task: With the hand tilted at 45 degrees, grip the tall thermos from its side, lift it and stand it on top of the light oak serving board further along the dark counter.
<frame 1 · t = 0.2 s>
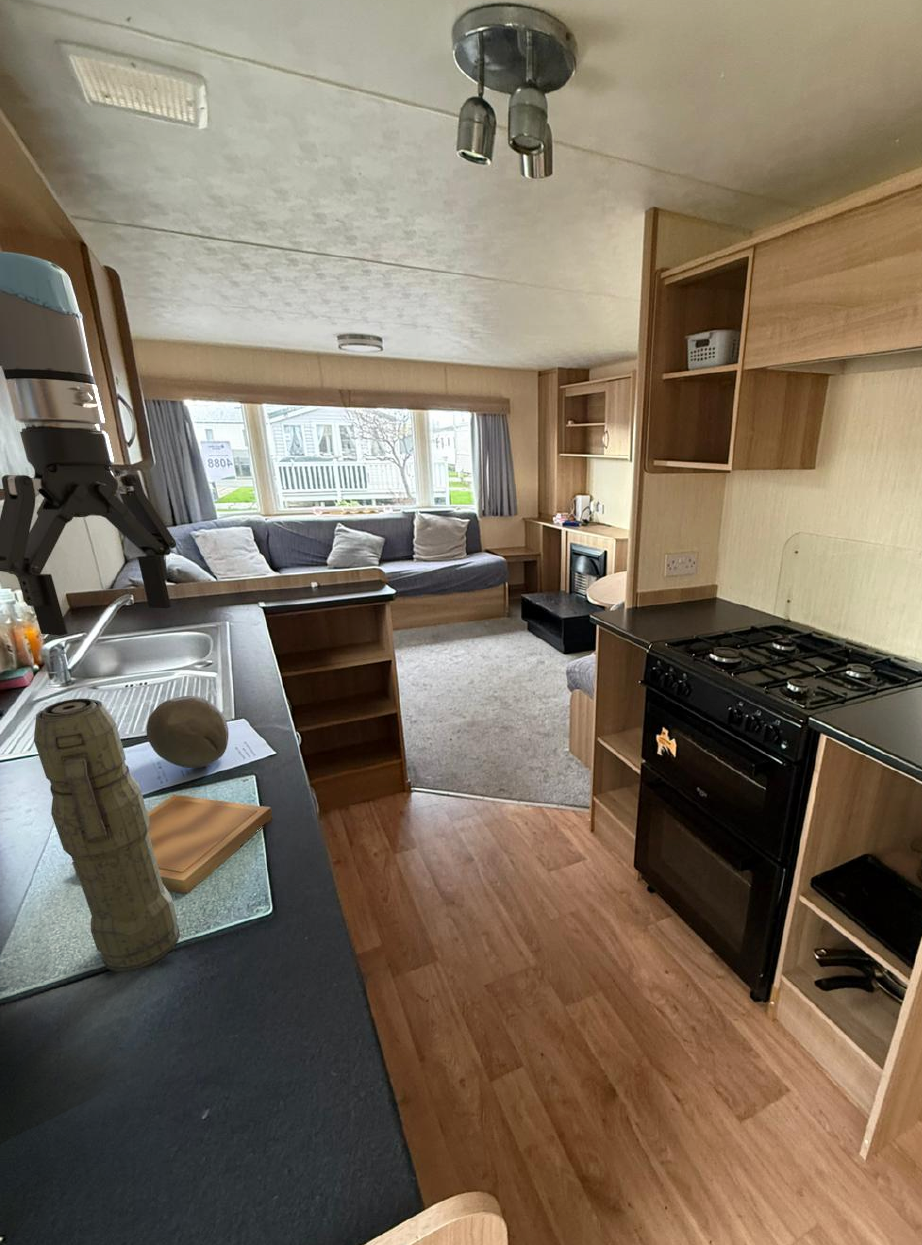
hand: (111, 619, 73), 43 cm above the counter, tool pointing down, fingers open, 13 cm apart
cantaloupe: (196, 766, 128), on the counter
oak board: (181, 845, 102), on the counter
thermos: (143, 947, 82), on the counter
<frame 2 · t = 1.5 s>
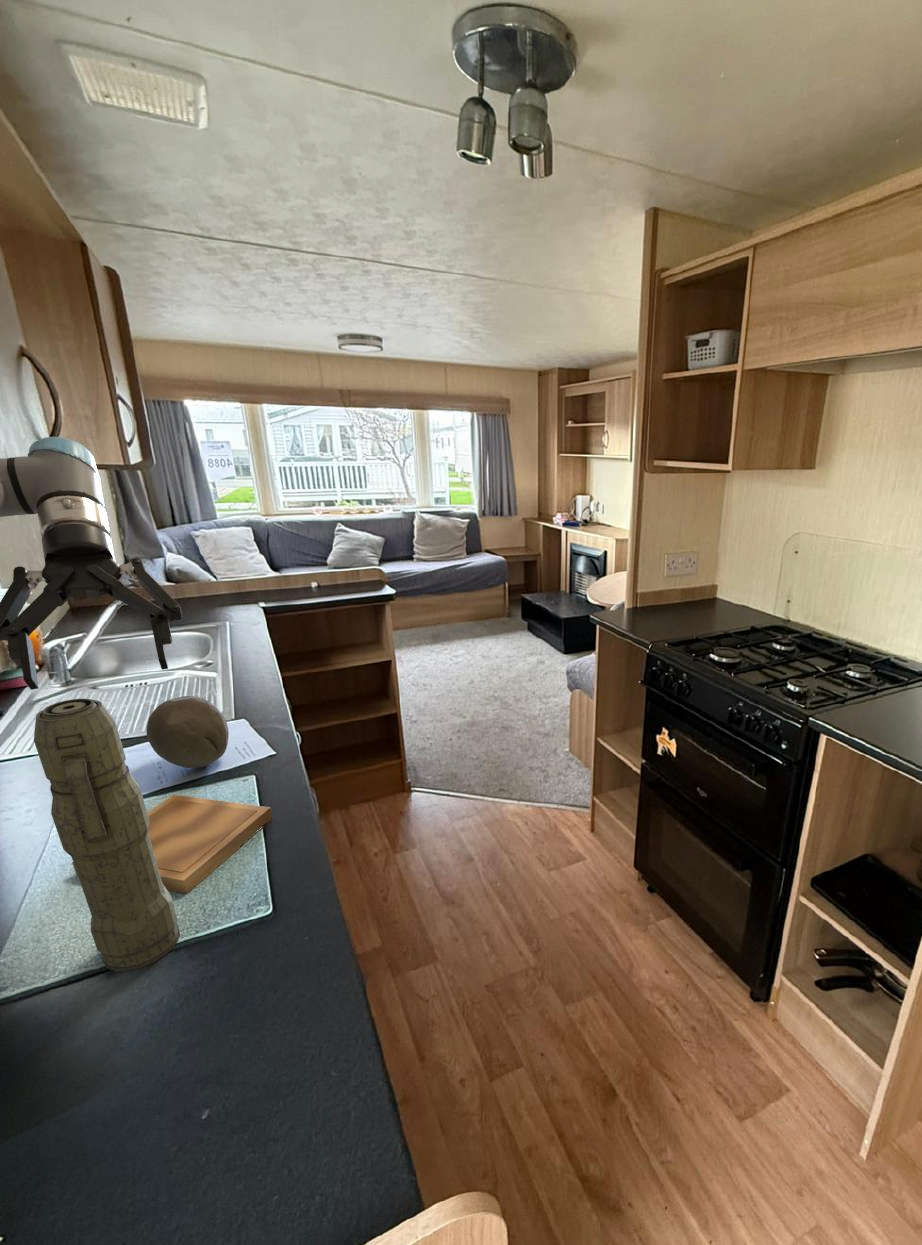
hand: (100, 674, 77), 36 cm above the counter, tool tilted 45°, fingers open, 13 cm apart
nothing on the counter moved.
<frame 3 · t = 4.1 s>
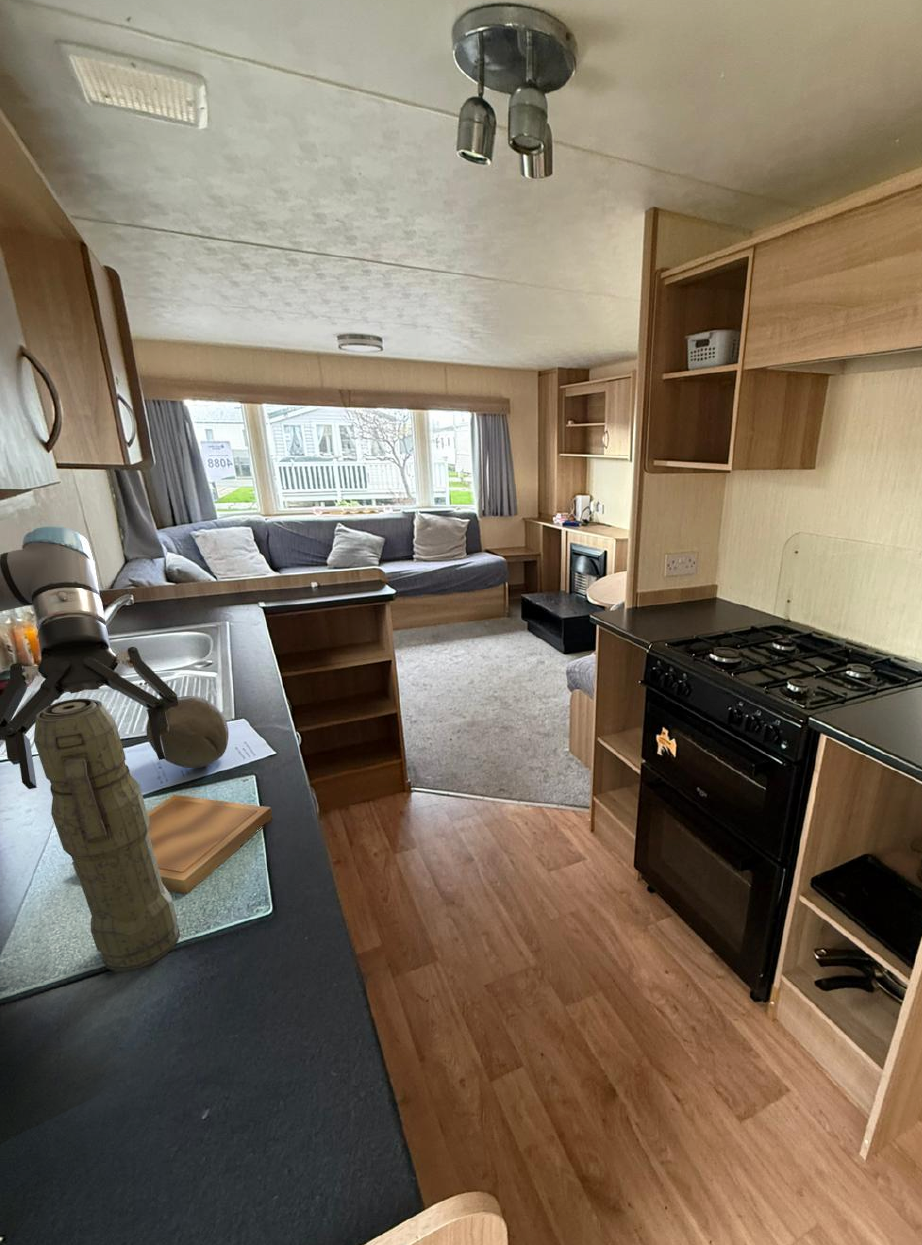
hand: (98, 770, 78), 24 cm above the counter, tool tilted 45°, fingers open, 13 cm apart
nothing on the counter moved.
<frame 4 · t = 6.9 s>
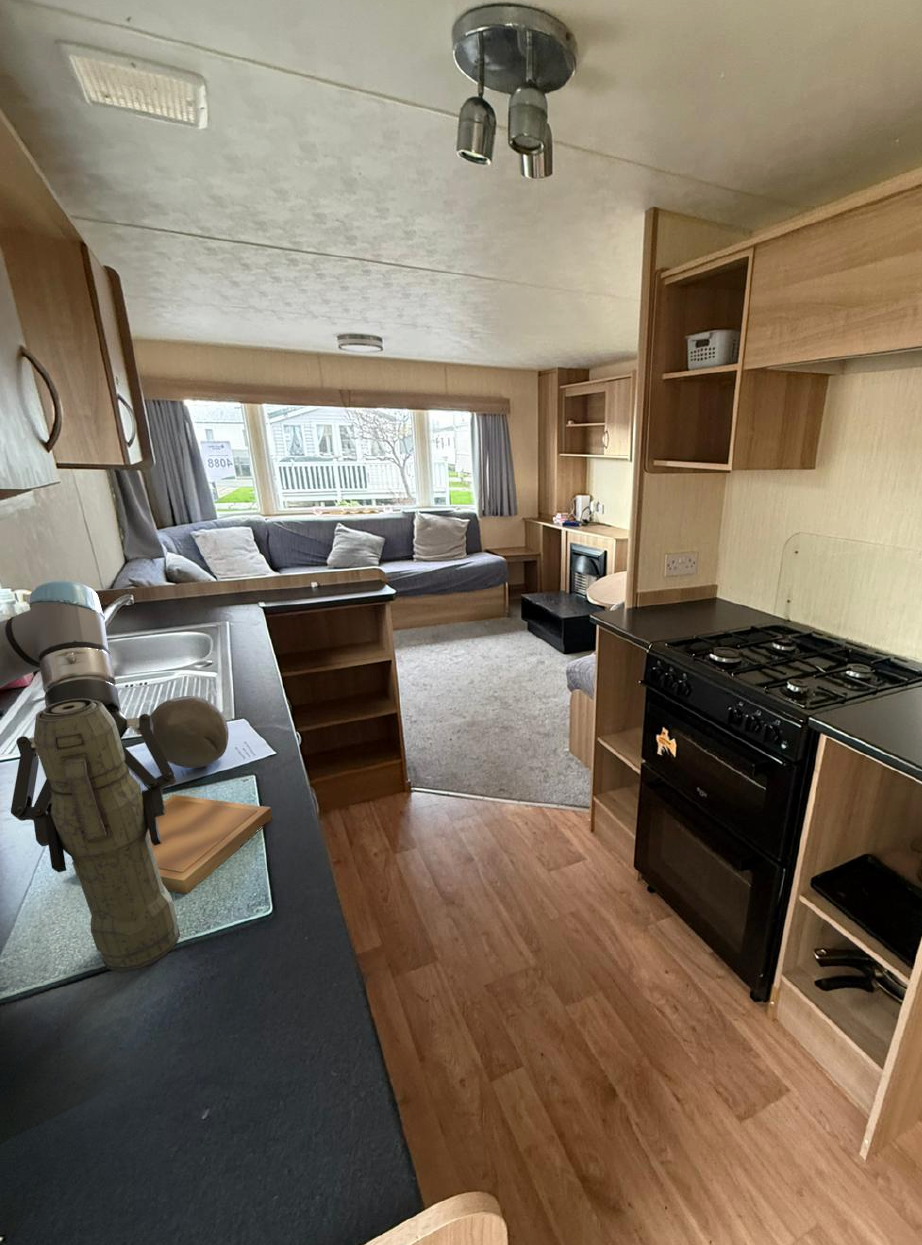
hand: (109, 855, 73), 17 cm above the counter, tool tilted 45°, fingers closed on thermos, 9 cm apart
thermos: (143, 947, 82), on the counter, touching gripper
everything else where it was.
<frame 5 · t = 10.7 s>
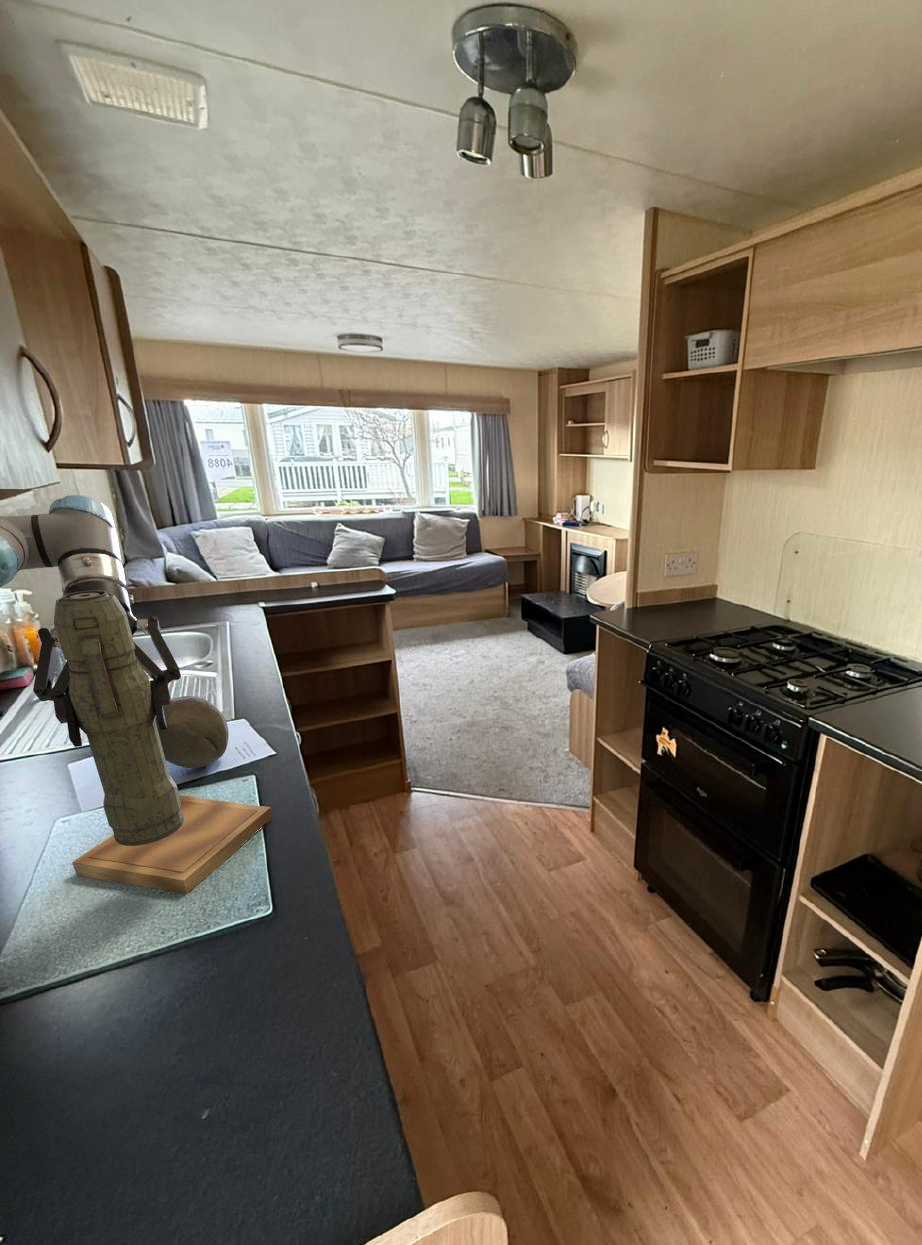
hand: (120, 734, 81), 27 cm above the counter, tool tilted 45°, fingers closed on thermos, 9 cm apart
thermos: (150, 829, 90), point 10 cm above the counter, touching gripper
everything else where it was.
when the fingers open (19 cm above the counter, at t = 14.5 s): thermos stays where it is, resting on oak board.
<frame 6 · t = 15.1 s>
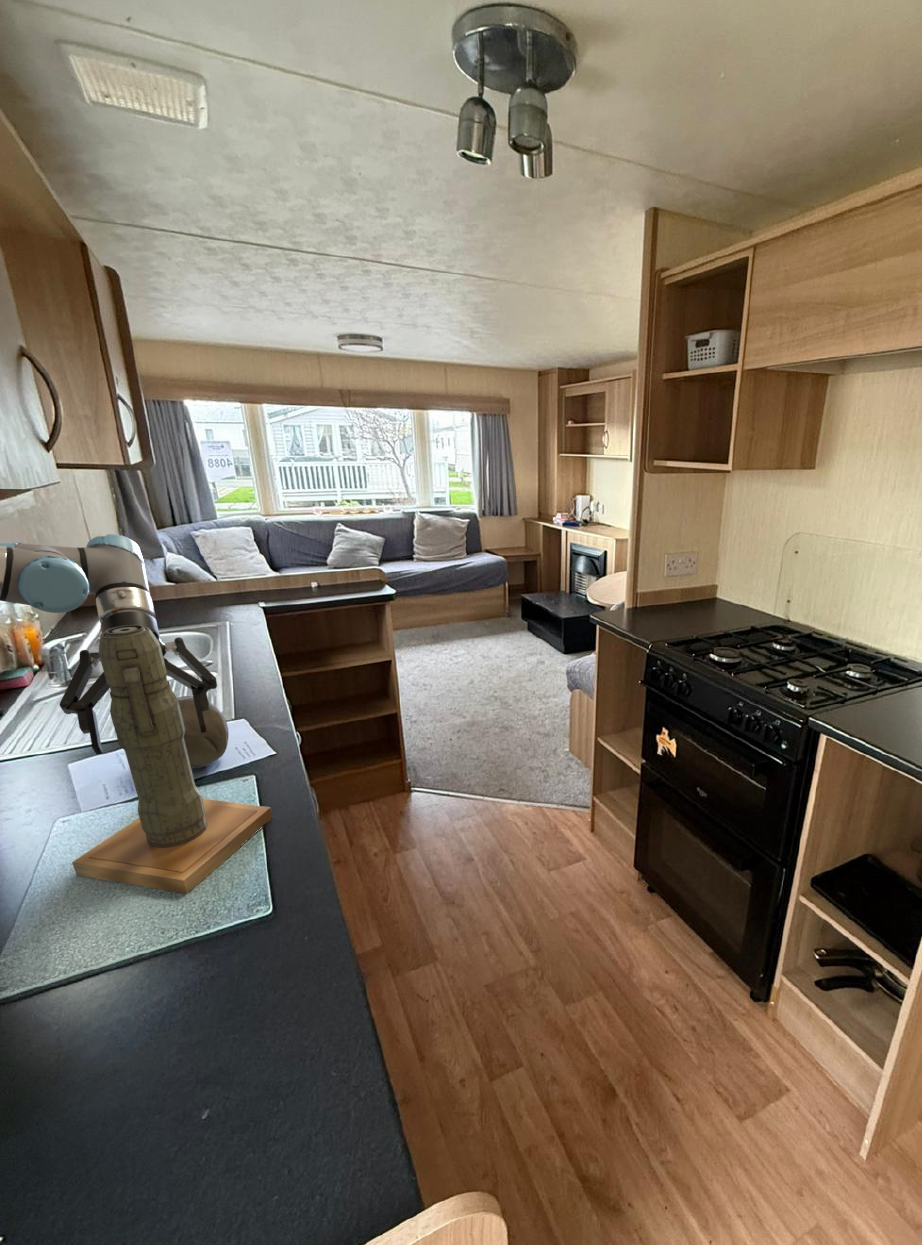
hand: (152, 739, 93), 21 cm above the counter, tool tilted 45°, fingers open, 13 cm apart
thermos: (178, 833, 102), point 2 cm above the counter, touching oak board
everything else where it was.
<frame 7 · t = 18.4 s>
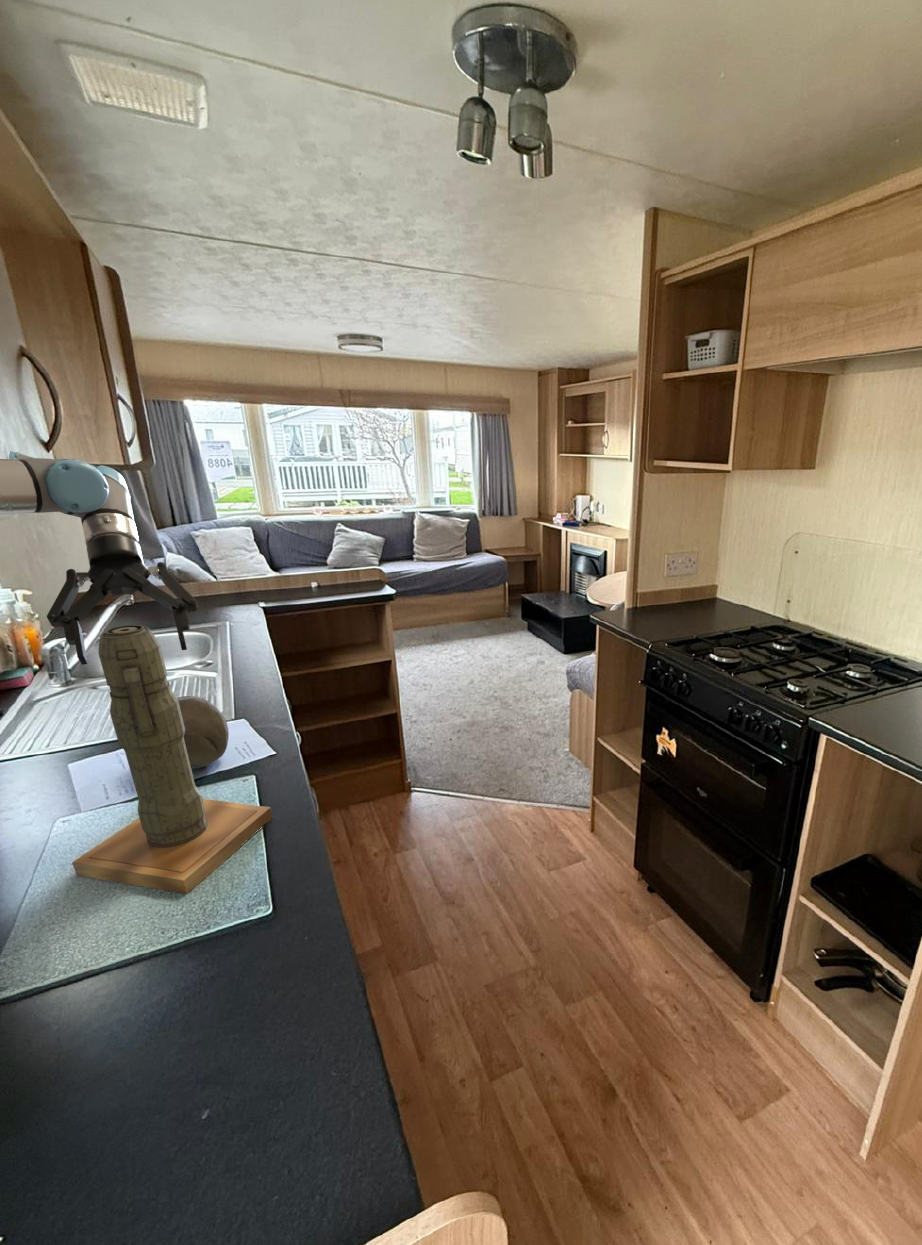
hand: (134, 653, 99), 31 cm above the counter, tool tilted 45°, fingers open, 13 cm apart
nothing on the counter moved.
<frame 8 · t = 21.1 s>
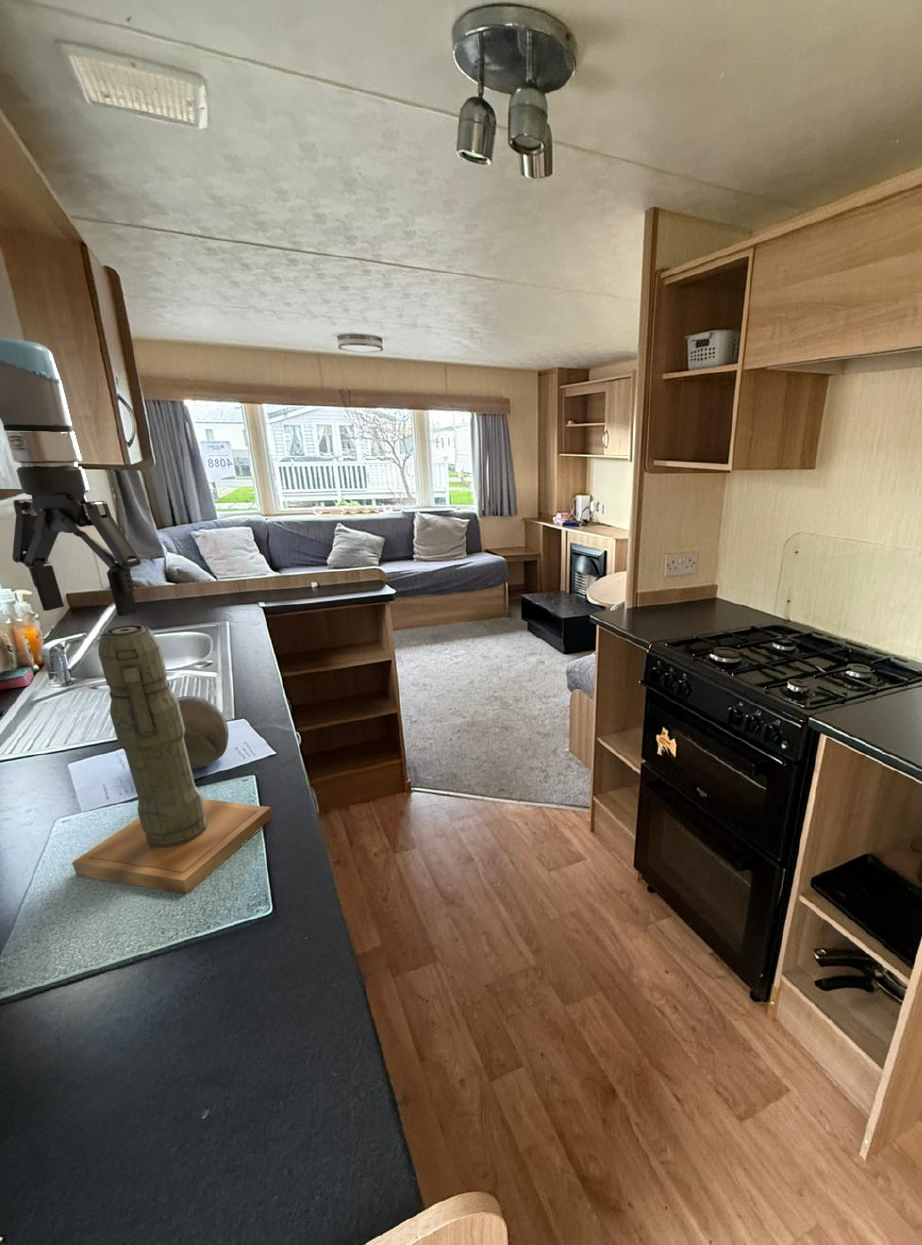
hand: (90, 611, 94), 39 cm above the counter, tool pointing down, fingers open, 13 cm apart
nothing on the counter moved.
at the end: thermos inside the target area on the oak board (0.1 cm from its centre), point 2.4 cm above the oak board's base; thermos tilted 0°; the gripper is holding nothing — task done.
